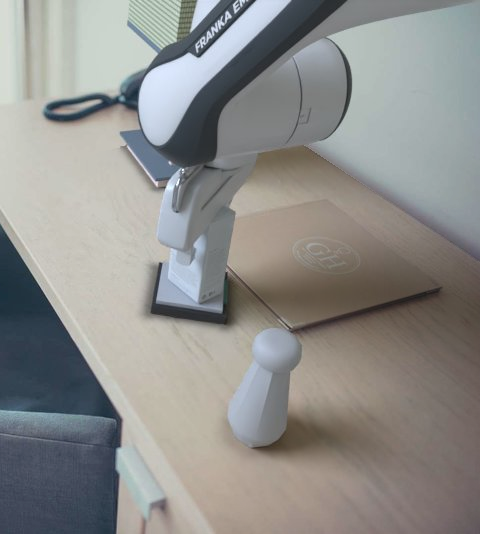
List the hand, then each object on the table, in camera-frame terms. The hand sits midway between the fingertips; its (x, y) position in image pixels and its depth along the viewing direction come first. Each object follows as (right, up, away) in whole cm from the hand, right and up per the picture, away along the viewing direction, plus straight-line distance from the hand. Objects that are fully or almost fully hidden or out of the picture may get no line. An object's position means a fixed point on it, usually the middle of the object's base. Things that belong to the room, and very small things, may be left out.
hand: (201, 241), depth 76 cm
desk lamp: (+2, +15, +33) cm, 36 cm away
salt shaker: (+3, -20, -11) cm, 23 cm away
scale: (0, -7, +5) cm, 9 cm away
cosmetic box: (0, -6, +4) cm, 7 cm away
